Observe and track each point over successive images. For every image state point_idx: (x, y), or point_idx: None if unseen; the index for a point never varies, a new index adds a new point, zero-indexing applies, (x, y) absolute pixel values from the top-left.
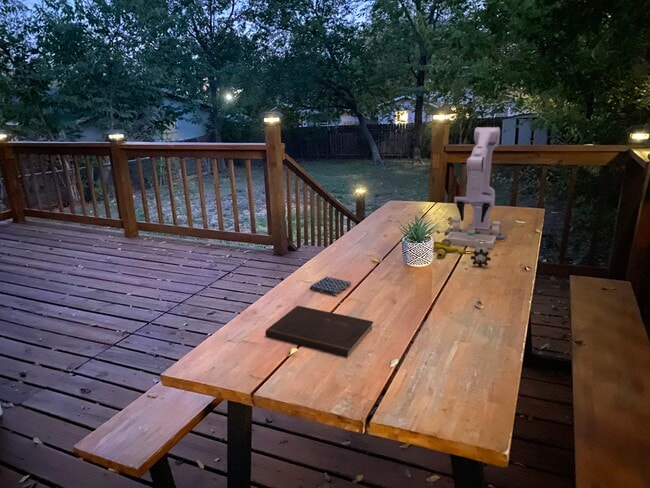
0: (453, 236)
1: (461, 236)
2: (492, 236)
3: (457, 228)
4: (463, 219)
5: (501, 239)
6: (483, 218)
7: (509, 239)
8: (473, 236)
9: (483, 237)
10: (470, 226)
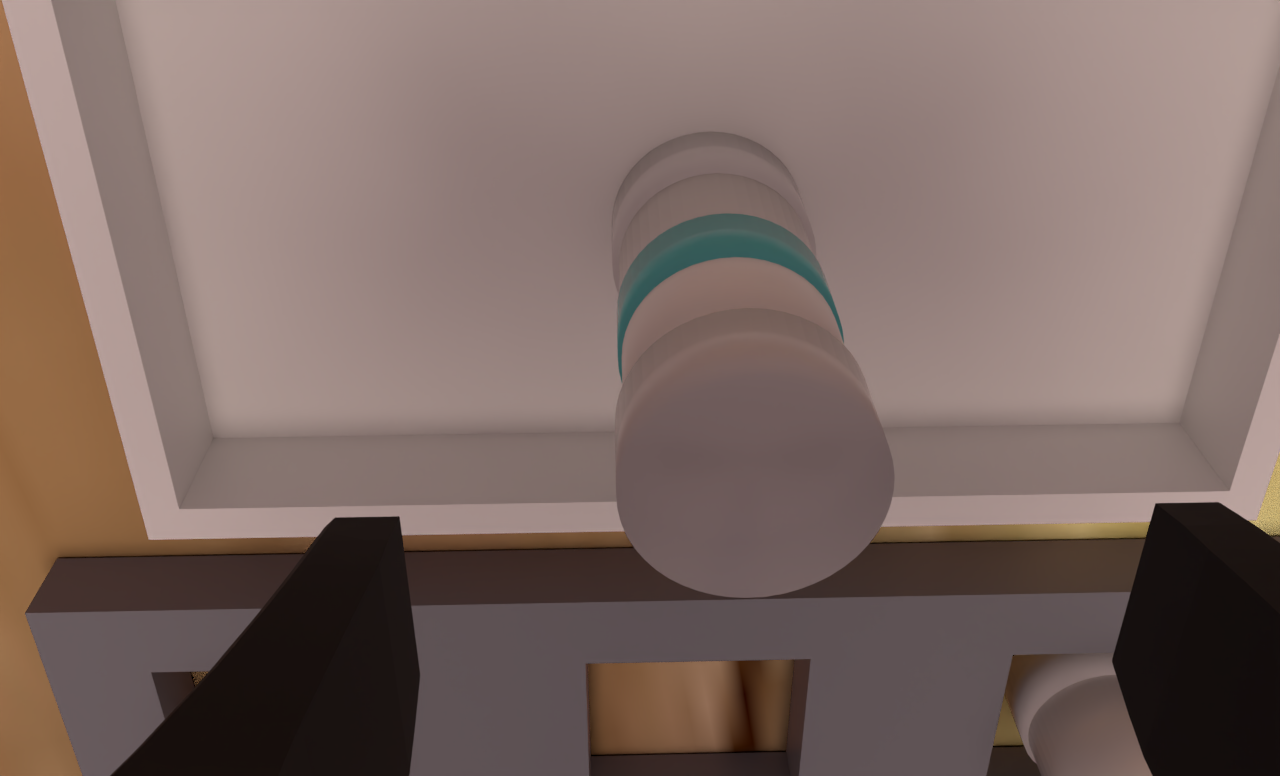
0: (1140, 433)
1: (959, 445)
2: (219, 504)
3: (1095, 746)
4: (1120, 656)
5: (98, 580)
6: (245, 631)
7: (16, 696)
8: (641, 241)
9: (442, 474)
10: (782, 357)
